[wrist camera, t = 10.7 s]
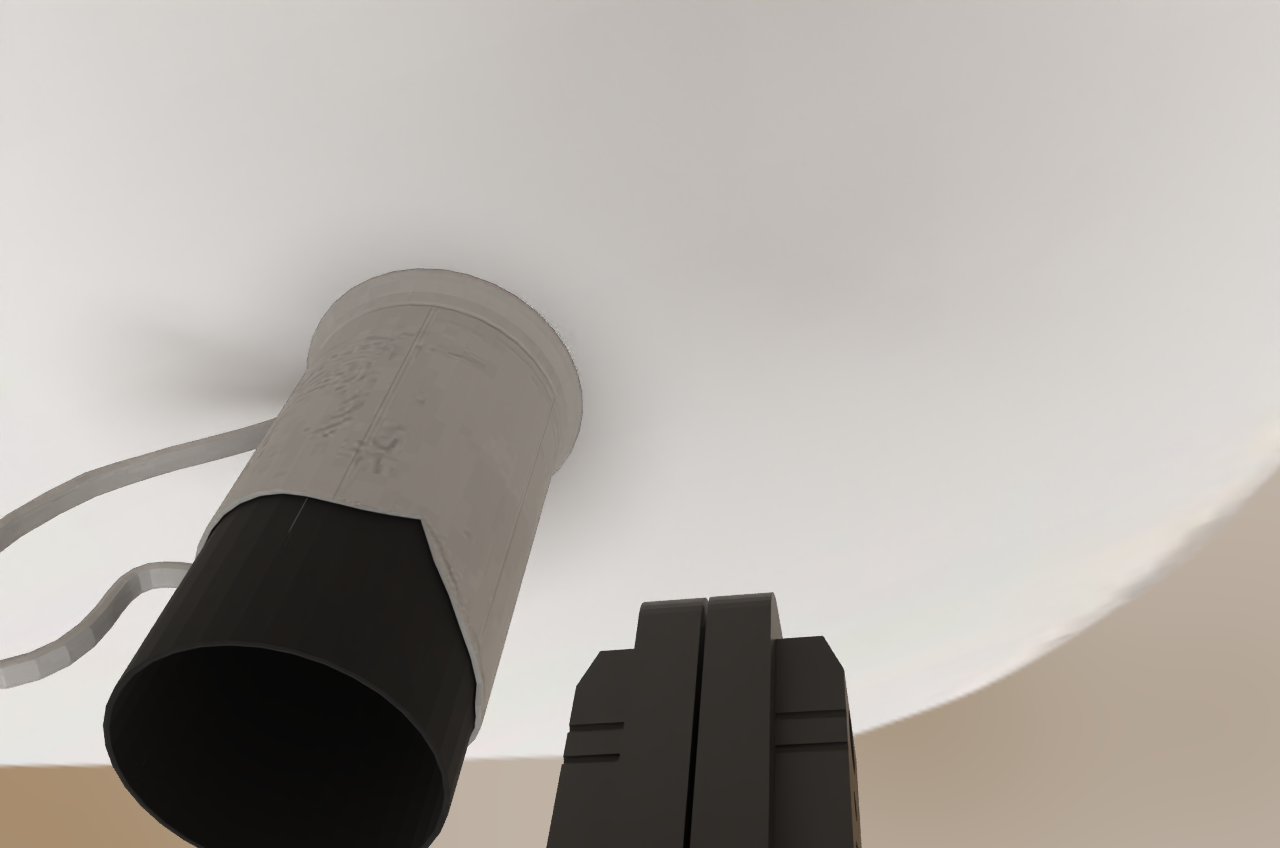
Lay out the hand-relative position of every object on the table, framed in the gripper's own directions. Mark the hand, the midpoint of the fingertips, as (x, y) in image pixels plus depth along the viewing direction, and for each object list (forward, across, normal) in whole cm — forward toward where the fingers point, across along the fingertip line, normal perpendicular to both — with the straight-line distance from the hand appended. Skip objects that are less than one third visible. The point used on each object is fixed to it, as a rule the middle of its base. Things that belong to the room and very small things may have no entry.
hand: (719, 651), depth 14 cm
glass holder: (+21, +14, +8) cm, 27 cm away
